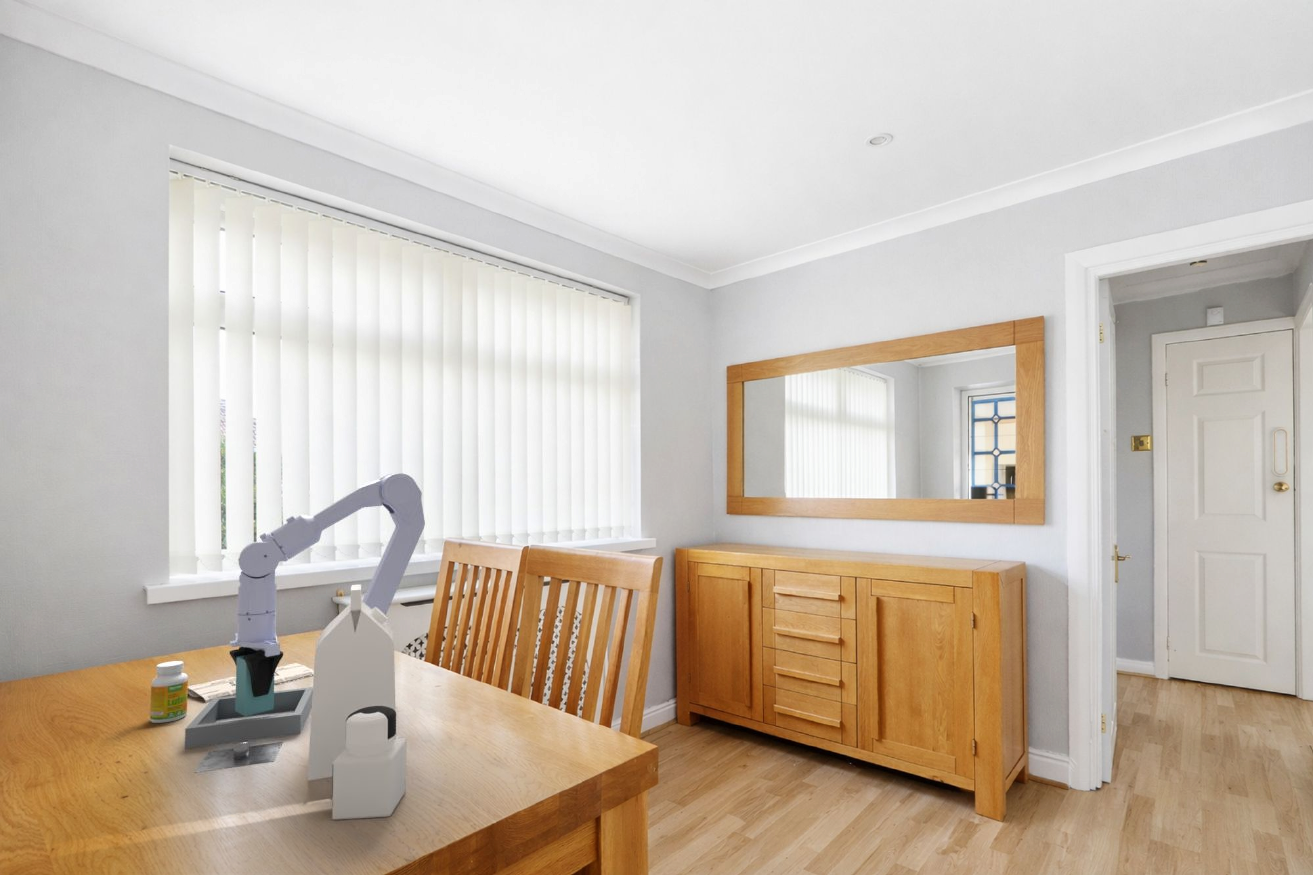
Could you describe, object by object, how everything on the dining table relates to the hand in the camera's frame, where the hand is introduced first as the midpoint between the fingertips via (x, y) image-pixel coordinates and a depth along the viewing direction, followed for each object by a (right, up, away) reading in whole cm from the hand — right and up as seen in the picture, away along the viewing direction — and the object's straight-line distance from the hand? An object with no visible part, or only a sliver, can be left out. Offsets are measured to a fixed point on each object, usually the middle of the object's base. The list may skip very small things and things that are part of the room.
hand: (255, 692), depth 114 cm
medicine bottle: (+32, -4, -28) cm, 43 cm away
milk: (+24, -5, -15) cm, 29 cm away
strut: (0, -3, 0) cm, 3 cm away
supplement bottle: (-19, -7, +6) cm, 22 cm away
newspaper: (-18, -9, +27) cm, 33 cm away
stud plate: (+6, -5, -14) cm, 16 cm away
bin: (0, -6, 0) cm, 6 cm away
